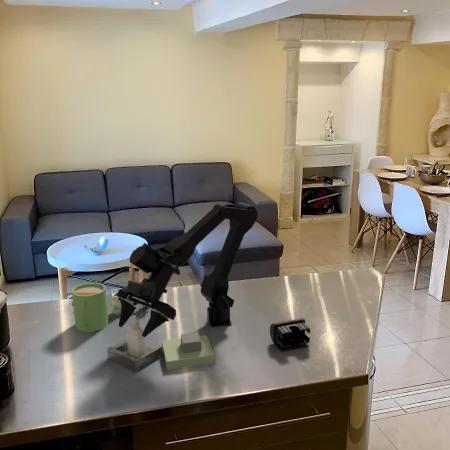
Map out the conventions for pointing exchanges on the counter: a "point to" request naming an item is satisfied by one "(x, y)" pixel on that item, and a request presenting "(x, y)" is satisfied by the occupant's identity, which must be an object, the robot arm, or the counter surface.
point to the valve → (117, 304)
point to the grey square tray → (125, 359)
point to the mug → (90, 307)
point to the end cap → (290, 334)
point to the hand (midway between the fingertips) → (131, 331)
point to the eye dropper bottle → (135, 338)
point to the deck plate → (186, 358)
